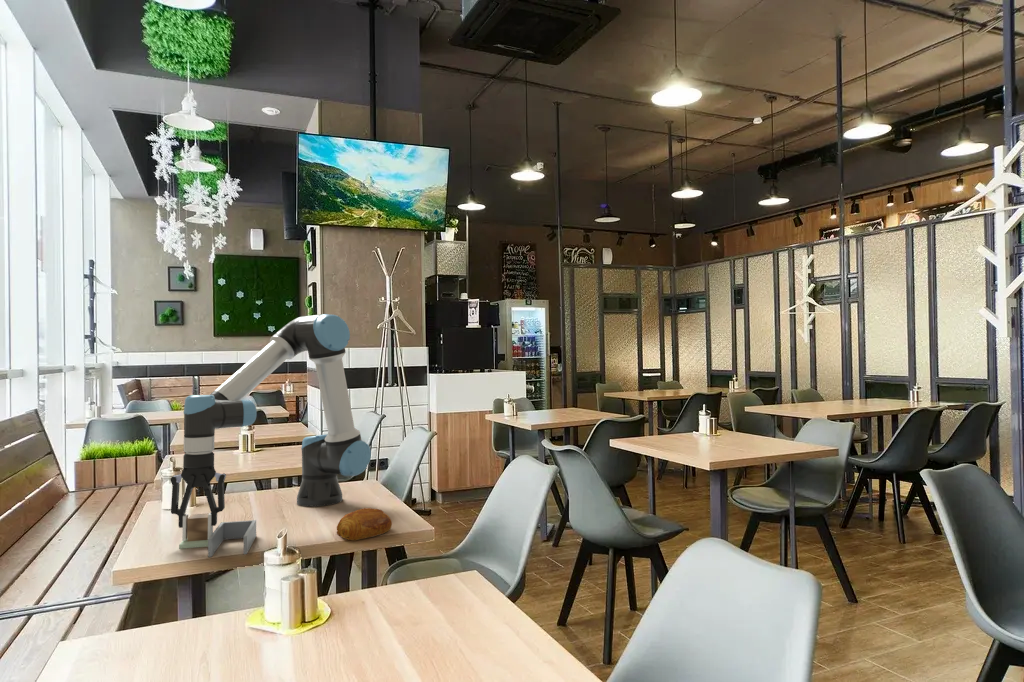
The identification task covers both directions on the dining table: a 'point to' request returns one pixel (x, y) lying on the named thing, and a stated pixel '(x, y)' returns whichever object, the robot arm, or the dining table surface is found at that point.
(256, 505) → the dining table surface
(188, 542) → the coaster
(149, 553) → the dining table surface
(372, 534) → the brown oval lump
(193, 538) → the block
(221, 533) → the u-shaped bracket
